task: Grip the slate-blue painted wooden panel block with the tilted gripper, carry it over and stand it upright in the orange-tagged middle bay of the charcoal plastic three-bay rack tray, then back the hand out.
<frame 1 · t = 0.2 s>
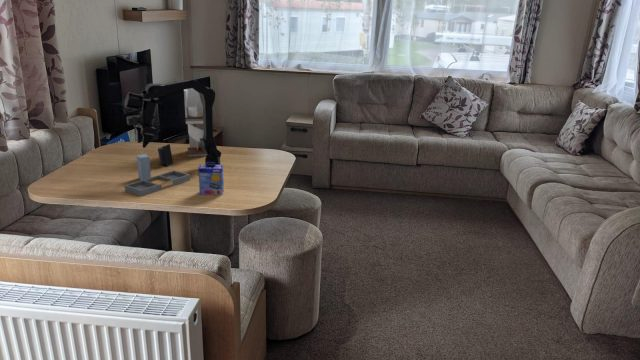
hand: (141, 145, 224), 15 cm above the table, tool tilted 15°, fingers open, 9 cm apart
display case: (197, 153, 269), on the table
panel block: (144, 178, 227), on the table
speaker: (165, 164, 249), on the table
ink cartridge box: (211, 193, 212), on the table
rack: (158, 185, 219), on the table
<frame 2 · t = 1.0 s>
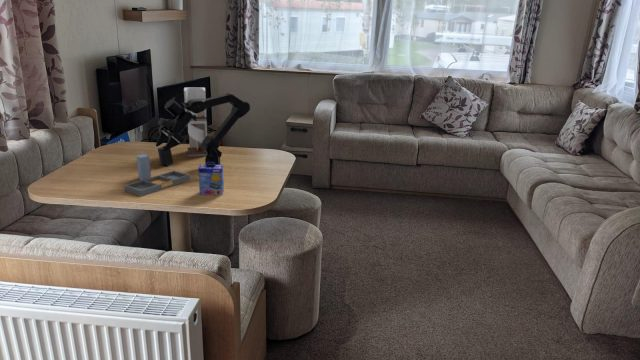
hand: (159, 148, 227), 13 cm above the table, tool tilted 45°, fingers open, 9 cm apart
nothing on the table moved.
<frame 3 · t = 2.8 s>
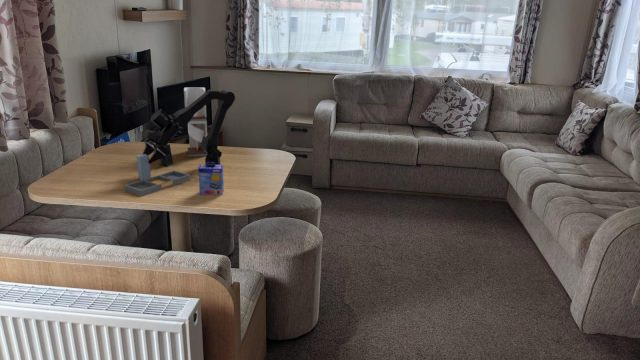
hand: (145, 160, 224), 9 cm above the table, tool tilted 45°, fingers open, 9 cm apart
nothing on the table moved.
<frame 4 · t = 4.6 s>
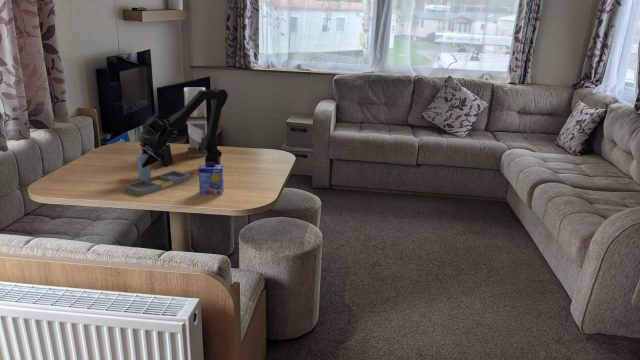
hand: (140, 165, 224), 7 cm above the table, tool tilted 45°, fingers closed on panel block, 5 cm apart
panel block: (144, 178, 227), on the table, touching gripper
everything else where it was.
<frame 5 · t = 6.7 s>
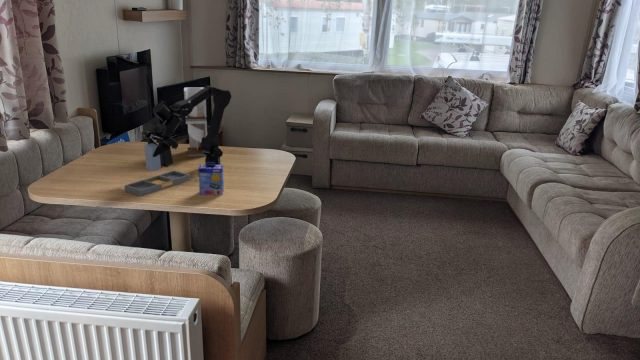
hand: (149, 155, 215), 13 cm above the table, tool tilted 45°, fingers closed on panel block, 5 cm apart
panel block: (153, 169, 218), point 7 cm above the table, touching gripper
everything else where it was.
when the fingers open (8 cm above the table, at t = 9.0 s): panel block stays where it is, resting on rack.
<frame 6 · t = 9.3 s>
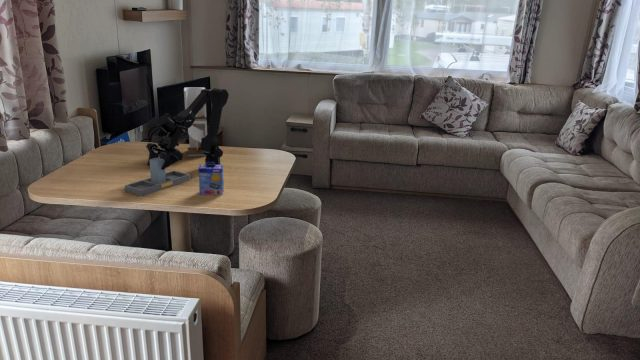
hand: (155, 167, 215), 9 cm above the table, tool tilted 45°, fingers open, 9 cm apart
panel block: (158, 183, 219), point 1 cm above the table, touching rack
everything else where it was.
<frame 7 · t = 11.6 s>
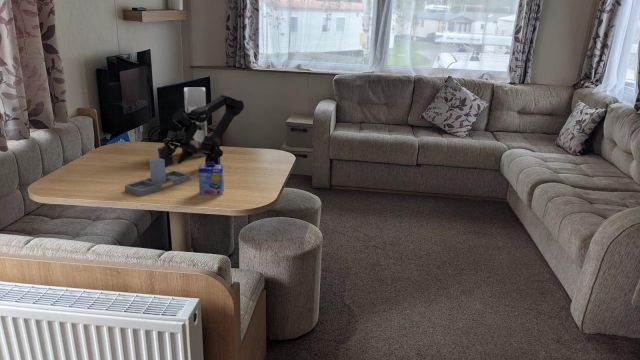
hand: (171, 161, 223), 9 cm above the table, tool tilted 45°, fingers open, 9 cm apart
nothing on the table moved.
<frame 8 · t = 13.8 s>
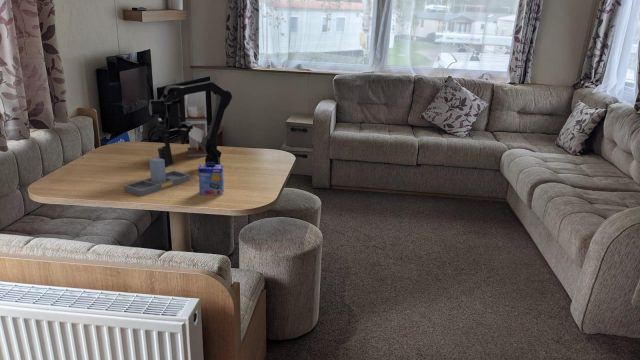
hand: (175, 146, 233), 13 cm above the table, tool pointing down, fingers open, 9 cm apart
nothing on the table moved.
at the end: panel block 0.0 cm off-centre on the rack, point 0.9 cm above the rack's base; panel block tilted 0°; the gripper is holding nothing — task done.
